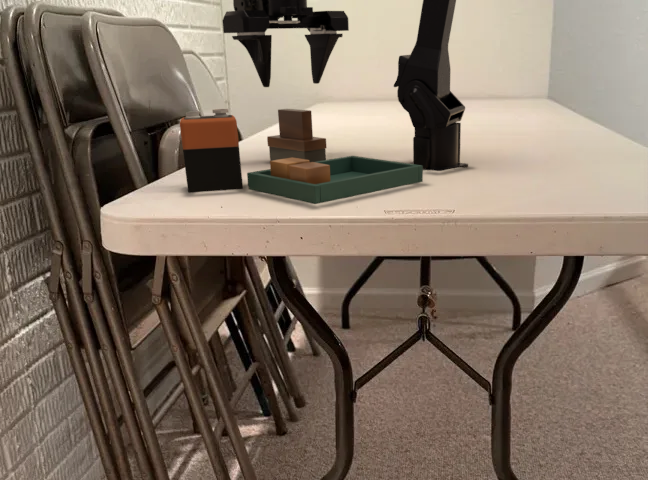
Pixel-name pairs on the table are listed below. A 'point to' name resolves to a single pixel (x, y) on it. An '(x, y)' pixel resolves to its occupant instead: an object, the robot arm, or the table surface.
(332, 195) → the tray
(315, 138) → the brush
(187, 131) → the battery
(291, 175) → the crumb
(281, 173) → the brown wooden cube
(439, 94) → the robot arm
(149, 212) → the table surface
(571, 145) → the table surface
